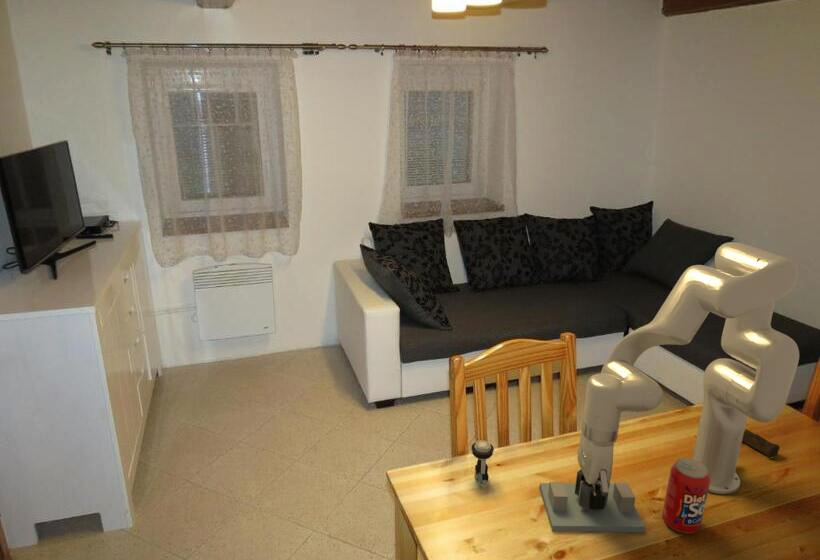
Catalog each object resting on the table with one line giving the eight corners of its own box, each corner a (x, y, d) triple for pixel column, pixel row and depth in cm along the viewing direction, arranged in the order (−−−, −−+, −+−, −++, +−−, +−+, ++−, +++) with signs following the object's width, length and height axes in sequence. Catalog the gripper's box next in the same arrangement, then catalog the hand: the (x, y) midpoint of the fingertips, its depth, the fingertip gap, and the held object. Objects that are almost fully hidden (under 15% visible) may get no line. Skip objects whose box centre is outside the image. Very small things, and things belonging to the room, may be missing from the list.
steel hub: (601, 488, 137) (604, 467, 135) (611, 510, 130) (614, 488, 128) (572, 488, 137) (575, 467, 135) (580, 510, 130) (583, 488, 128)
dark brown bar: (778, 457, 153) (782, 442, 152) (768, 461, 152) (772, 446, 150) (715, 420, 169) (718, 406, 168) (706, 423, 168) (709, 409, 166)
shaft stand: (622, 489, 141) (626, 463, 138) (643, 532, 127) (648, 504, 125) (539, 488, 141) (541, 462, 138) (552, 531, 128) (555, 503, 125)
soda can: (664, 506, 135) (674, 451, 130) (701, 518, 131) (713, 463, 126) (658, 527, 129) (669, 471, 124) (698, 541, 125) (710, 483, 120)
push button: (495, 488, 140) (498, 453, 137) (474, 490, 140) (475, 455, 137) (488, 471, 147) (490, 437, 143) (467, 472, 146) (469, 438, 143)
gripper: (572, 407, 135) (565, 471, 141) (594, 453, 119) (584, 523, 125) (605, 407, 135) (596, 471, 141) (631, 454, 119) (620, 524, 125)
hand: (591, 495), depth 133 cm, fingers closed on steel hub, 7 cm apart
